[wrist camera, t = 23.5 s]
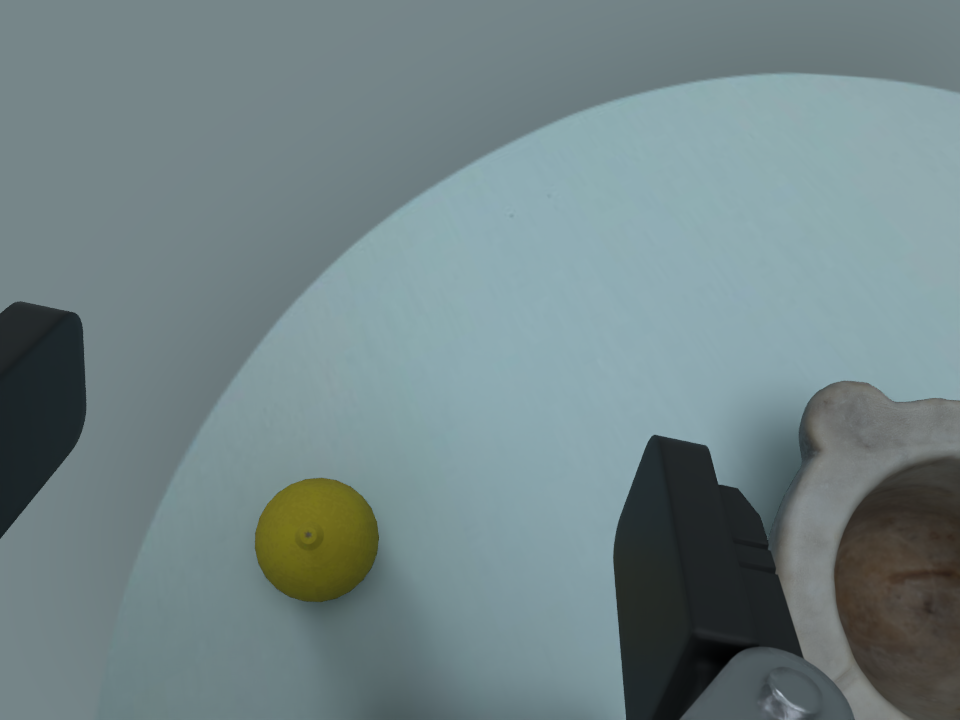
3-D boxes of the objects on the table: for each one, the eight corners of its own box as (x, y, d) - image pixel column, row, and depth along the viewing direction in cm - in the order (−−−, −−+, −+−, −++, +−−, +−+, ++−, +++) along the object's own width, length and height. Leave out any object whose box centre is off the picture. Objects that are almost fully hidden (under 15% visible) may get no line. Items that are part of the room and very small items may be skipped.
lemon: (396, 508, 44) (395, 495, 36) (356, 615, 43) (345, 624, 35) (295, 471, 44) (272, 449, 36) (251, 576, 43) (217, 577, 35)
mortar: (1037, 480, 47) (1182, 457, 38) (998, 807, 43) (1152, 866, 34) (744, 390, 47) (822, 347, 38) (675, 709, 43) (745, 743, 34)
